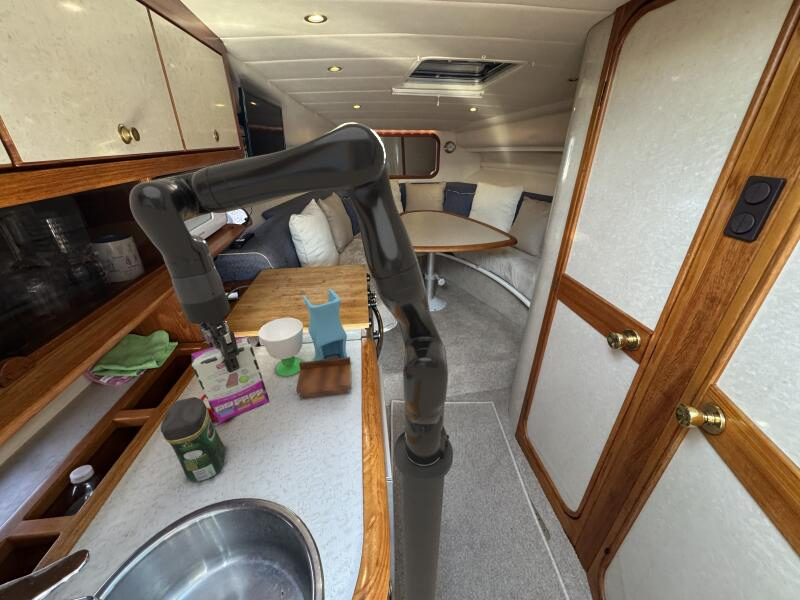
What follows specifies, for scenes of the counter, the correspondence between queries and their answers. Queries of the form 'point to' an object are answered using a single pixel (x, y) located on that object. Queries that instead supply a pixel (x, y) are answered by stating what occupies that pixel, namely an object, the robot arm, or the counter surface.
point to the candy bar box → (230, 381)
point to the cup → (283, 343)
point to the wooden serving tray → (324, 377)
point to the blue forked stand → (326, 327)
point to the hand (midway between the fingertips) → (227, 363)
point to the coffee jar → (193, 439)
